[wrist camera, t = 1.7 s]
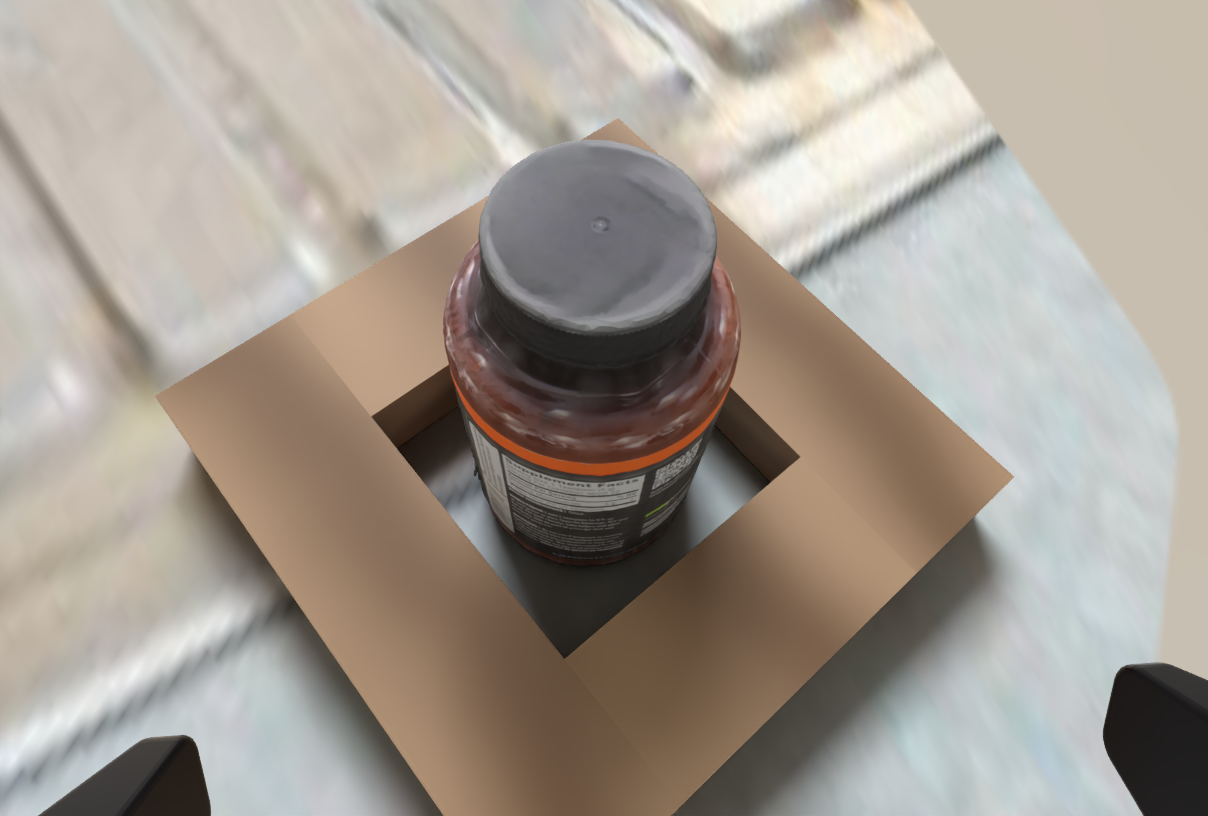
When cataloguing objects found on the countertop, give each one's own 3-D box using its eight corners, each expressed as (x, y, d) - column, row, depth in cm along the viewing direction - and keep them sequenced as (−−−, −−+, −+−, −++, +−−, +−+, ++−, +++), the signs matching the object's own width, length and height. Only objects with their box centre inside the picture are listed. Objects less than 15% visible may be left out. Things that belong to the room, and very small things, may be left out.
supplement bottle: (531, 354, 25) (511, 50, 15) (712, 421, 24) (822, 151, 14) (444, 526, 23) (350, 300, 12) (644, 606, 22) (717, 438, 12)
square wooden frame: (538, 931, 18) (535, 949, 16) (194, 434, 23) (155, 396, 21) (970, 507, 24) (1013, 476, 21) (613, 172, 28) (618, 118, 26)
